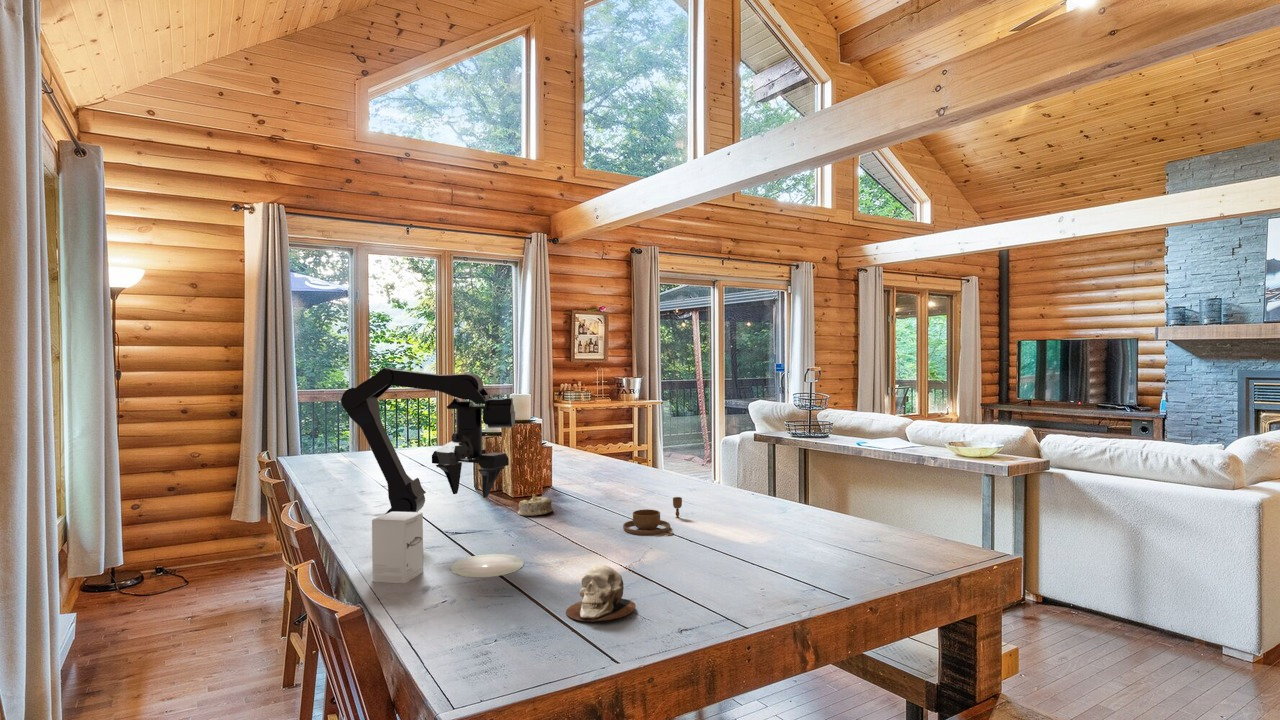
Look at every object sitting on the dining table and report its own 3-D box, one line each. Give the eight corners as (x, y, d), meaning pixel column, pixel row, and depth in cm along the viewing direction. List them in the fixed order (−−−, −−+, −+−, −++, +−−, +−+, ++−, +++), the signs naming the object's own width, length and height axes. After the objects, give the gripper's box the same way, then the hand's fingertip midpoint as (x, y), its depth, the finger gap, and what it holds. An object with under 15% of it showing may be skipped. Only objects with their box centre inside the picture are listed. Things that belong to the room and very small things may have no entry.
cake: (560, 512, 197) (560, 492, 197) (535, 519, 189) (534, 499, 189) (535, 507, 203) (535, 489, 203) (509, 514, 195) (509, 495, 195)
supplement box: (405, 585, 137) (404, 520, 136) (371, 582, 138) (370, 518, 138) (424, 573, 144) (423, 511, 144) (392, 570, 145) (391, 510, 145)
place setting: (611, 526, 183) (610, 503, 183) (678, 517, 191) (678, 496, 191) (639, 542, 167) (639, 518, 167) (712, 532, 175) (711, 509, 175)
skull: (618, 623, 113) (576, 574, 115) (583, 659, 117) (544, 610, 120) (652, 593, 123) (613, 549, 126) (619, 626, 127) (582, 582, 130)
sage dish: (435, 571, 145) (435, 569, 145) (484, 552, 158) (484, 550, 158) (491, 582, 137) (491, 580, 137) (538, 561, 151) (538, 559, 151)
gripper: (413, 430, 159) (414, 498, 159) (476, 434, 150) (477, 507, 150) (448, 425, 168) (449, 489, 169) (509, 428, 159) (510, 497, 160)
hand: (470, 495), depth 162 cm, fingers open, 9 cm apart
